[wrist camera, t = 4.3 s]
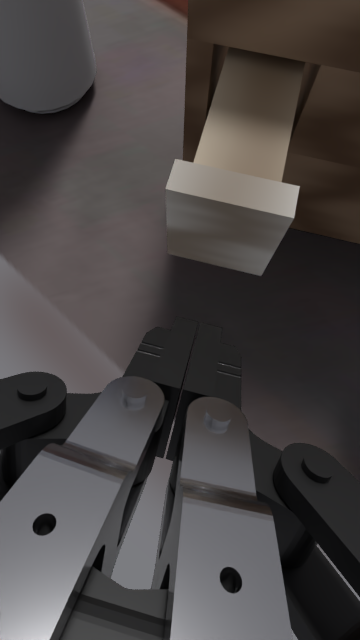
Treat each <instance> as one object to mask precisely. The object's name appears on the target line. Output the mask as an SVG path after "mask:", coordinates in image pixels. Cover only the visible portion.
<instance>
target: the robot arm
mask: <svg viewBox="0 0 360 640" xmlns="http://www.w3.org/2000/svg"><path fill="white" fill-rule="evenodd" d="M197 325H198V322H197V321H193V320H189V319H185V318H181V317H176V319H175V321H174V324H173V326H172V329H171V330H168V329H164V328H160V327H156V328H154V329H152V330H151V331H149V332H147V333H146V335H145V337H144V338H143V340H142V343H141V344H140V346H139V348H138V350H137V351H136V353H135V355H134V357H133V359H132V360H131V362H130V364H129V366H128V368H127V370H126V371H125V373H124V375H123V377H120V378H117V379H115V380H113V381H111V382H110V383H109V384H108V385H107V386H106V387H105V389H104V390H103V391H102V392H100V393H94V394H73V393H72V394H71V393H67V389H66V385H65V383H64V382H63V381H62V380H61V379H60V378H58V377H57V376H55V375H52V374H49V373H44V372H27V373H22V374H18V375H14V376H11V377H8V378H4V379H0V640H293V637H292V632H291V629H292V630H293V632H294V634H295V635H296V637H297V638H298V640H360V601H359V600H358V599H357V597H356V596H355V595H354V593H353V592H352V591H351V590H350V588H349V587H348V586H347V585H346V583H345V582H344V581H343V579H342V578H341V577H340V575H339V574H338V573H337V572H336V570H335V569H334V568H333V566H332V565H331V564H330V563H329V561H328V560H327V559H326V557H325V556H324V555H323V554H322V552H321V551H320V550H319V548H318V547H317V546H316V545H317V544H319V545H320V547H321V548H322V549H323V551H324V552H325V553H326V554H327V556H328V557H329V558H330V560H331V561H332V562H333V563H334V565H335V566H336V567H337V569H338V570H339V571H340V572H341V574H342V575H343V576H344V578H345V579H346V580H347V581H348V583H349V584H350V585H351V586H352V588H353V589H354V590H355V592H356V593H357V594H358V595H359V597H360V483H359V482H358V481H357V480H356V479H355V478H354V477H353V476H352V475H351V474H350V473H349V472H348V471H347V470H346V469H345V468H344V467H343V466H342V465H341V464H340V463H339V462H338V461H337V460H336V459H335V458H334V457H332V456H331V455H330V454H328V453H327V452H325V451H324V450H322V449H320V448H318V447H316V446H313V445H310V444H305V443H294V444H291V445H289V446H287V447H286V448H285V449H284V450H283V451H281V450H279V449H277V448H275V447H273V446H272V445H270V444H268V443H266V442H264V441H263V440H261V439H260V438H258V437H257V436H256V435H254V434H253V433H252V432H251V431H250V430H249V429H248V423H247V420H246V417H245V416H244V414H243V413H242V412H241V356H240V354H239V353H238V351H237V349H236V348H235V346H231V345H227V344H223V343H220V342H221V334H222V328H221V327H217V326H213V325H209V324H205V323H201V322H200V325H199V329H198V333H197V337H196V341H195V345H194V349H193V353H192V357H191V361H190V365H189V369H188V373H187V377H186V381H185V384H184V388H183V392H182V396H181V400H180V404H179V408H178V412H177V416H176V420H175V424H174V428H173V432H172V436H171V440H170V444H169V448H168V452H167V456H166V459H168V460H172V461H173V464H172V469H171V473H170V478H169V481H168V485H167V489H166V494H165V502H164V508H163V515H162V523H161V529H160V537H159V544H158V550H157V557H156V564H155V570H154V576H153V581H152V586H151V590H132V589H127V588H124V587H122V586H121V585H119V584H118V583H116V582H115V581H113V580H112V579H111V575H112V572H113V568H114V565H115V562H116V559H117V556H118V554H119V551H120V548H121V546H122V543H123V541H124V538H125V535H126V533H127V530H128V528H129V525H130V523H131V520H132V518H133V515H134V512H135V510H136V507H137V505H138V502H139V500H140V497H141V494H142V492H143V489H144V487H145V484H146V480H147V477H148V475H149V474H150V472H151V470H152V467H153V463H154V459H155V456H157V457H161V458H163V457H164V453H165V450H166V446H167V442H168V438H169V434H170V430H171V427H172V423H173V419H174V415H175V412H176V408H177V404H178V400H179V396H180V393H181V389H182V385H183V381H184V377H185V373H186V369H187V365H188V361H189V357H190V353H191V349H192V345H193V341H194V337H195V333H196V329H197Z"/></svg>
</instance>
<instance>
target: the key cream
mask: <svg viewBox="0 0 360 640" xmlns="http://www.w3.org/2000/svg"><path fill="white" fill-rule="evenodd" d="M304 66H305V62H304V61H299V60H294V59H289V58H283V57H278V56H273V55H268V54H263V53H258V52H253V51H248V50H243V49H238V48H233V47H229V48H228V51H227V55H226V58H225V61H224V64H223V68H222V71H221V74H220V77H219V81H218V84H217V87H216V90H215V94H214V97H213V100H212V103H211V107H210V110H209V113H208V116H207V120H206V123H205V126H204V129H203V133H202V136H201V139H200V143H199V146H198V149H197V152H196V156H195V159H194V162H193V163H192V162H188V161H183V160H178V159H175V162H174V165H173V168H172V171H171V174H170V177H169V180H168V183H167V186H166V218H167V248H168V254H171V255H175V256H179V257H183V258H188V259H192V260H196V261H200V262H204V263H208V264H213V265H217V266H221V267H225V268H229V269H234V270H238V271H242V272H246V273H250V274H254V275H259V276H261V275H262V274H263V272H264V270H265V268H266V267H267V265H268V263H269V261H270V260H271V258H272V256H273V254H274V253H275V251H276V249H277V247H278V246H279V244H280V242H281V240H282V239H283V237H284V235H285V233H286V231H287V230H288V228H289V226H290V224H291V223H292V221H293V219H294V216H295V210H296V204H297V199H298V193H299V188H300V186H296V185H291V184H287V183H282V182H281V181H282V176H283V171H284V166H285V161H286V156H287V151H288V146H289V141H290V136H291V131H292V126H293V121H294V116H295V111H296V106H297V101H298V96H299V91H300V86H301V81H302V76H303V71H304Z"/></svg>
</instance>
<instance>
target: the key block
mask: <svg viewBox="0 0 360 640" xmlns="http://www.w3.org/2000/svg"><path fill="white" fill-rule="evenodd" d="M229 47H233V48H238V49H243V50H248V51H253V52H258V53H263V54H268V55H273V56H278V57H283V58H289V59H294V60H299V61H304V62H305V66H304V71H303V76H302V81H301V86H300V91H299V96H298V101H297V106H296V111H295V116H294V121H293V126H292V131H291V136H290V141H289V146H288V151H287V156H286V161H285V166H284V171H283V176H282V181H281V182H282V183H287V184H291V185H296V186H300V188H299V193H298V199H297V204H296V210H295V216H294V219H293V221H292V223H291V224H290V226H289V228H293V229H297V230H301V231H306V232H310V233H314V234H319V235H323V236H327V237H332V238H336V239H341V240H345V241H349V242H354V243H358V244H360V0H188V28H187V57H186V85H185V114H184V143H183V161H188V162H192V163H193V162H194V159H195V156H196V152H197V149H198V146H199V143H200V139H201V136H202V133H203V129H204V126H205V123H206V120H207V116H208V113H209V110H210V107H211V103H212V100H213V97H214V94H215V90H216V87H217V84H218V81H219V77H220V74H221V71H222V68H223V64H224V61H225V58H226V55H227V51H228V48H229Z"/></svg>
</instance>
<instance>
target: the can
mask: <svg viewBox="0 0 360 640" xmlns="http://www.w3.org/2000/svg"><path fill="white" fill-rule="evenodd" d="M96 73H97V71H96V60H95V56H94V51H93V46H92V41H91V37H90V32H89V27H88V22H87V18H86V13H85V8H84V3H83V0H0V99H1V100H2V101H3V102H5V103H7V104H9V105H12V106H14V107H16V108H18V109H24V110H26V111H28V112H33V113H40V114H45V113H55V112H58V111H61V110H64V109H67V108H69V107H71V106H72V105H74V104H75V103H77V102H78V101H79V100H80V99H81V98H82V96H83V95H84V94H85V93H86V91H87V90H88V89H89V88H90V87H91V85H92V84H93V81H94V79H95V76H96Z"/></svg>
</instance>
